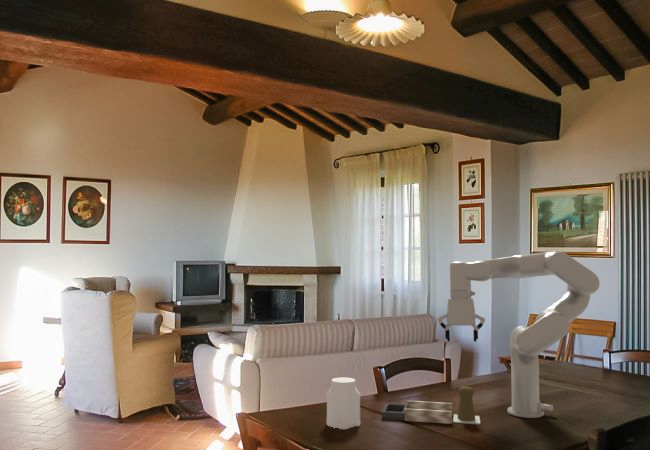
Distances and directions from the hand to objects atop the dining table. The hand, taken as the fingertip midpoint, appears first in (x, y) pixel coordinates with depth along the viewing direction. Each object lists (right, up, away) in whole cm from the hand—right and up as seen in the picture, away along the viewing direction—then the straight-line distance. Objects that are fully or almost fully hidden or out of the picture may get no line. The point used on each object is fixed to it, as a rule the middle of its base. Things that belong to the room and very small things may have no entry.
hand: (461, 341), depth 217 cm
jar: (-45, -25, -18) cm, 54 cm away
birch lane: (-14, -25, -9) cm, 30 cm away
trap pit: (-26, -25, -7) cm, 37 cm away
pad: (-1, -25, -12) cm, 28 cm away
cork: (-1, -25, -12) cm, 28 cm away
